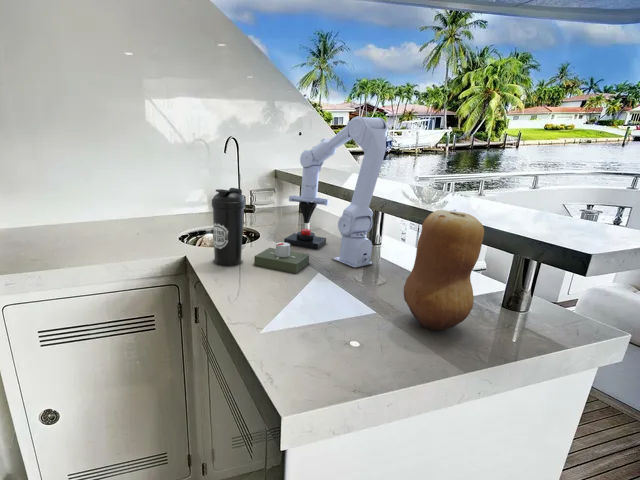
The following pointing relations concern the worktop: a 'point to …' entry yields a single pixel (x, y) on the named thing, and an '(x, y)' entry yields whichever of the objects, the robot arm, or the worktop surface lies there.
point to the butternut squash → (444, 269)
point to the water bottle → (228, 226)
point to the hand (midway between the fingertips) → (306, 222)
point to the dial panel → (282, 261)
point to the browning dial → (282, 249)
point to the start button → (306, 232)
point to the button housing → (305, 240)
